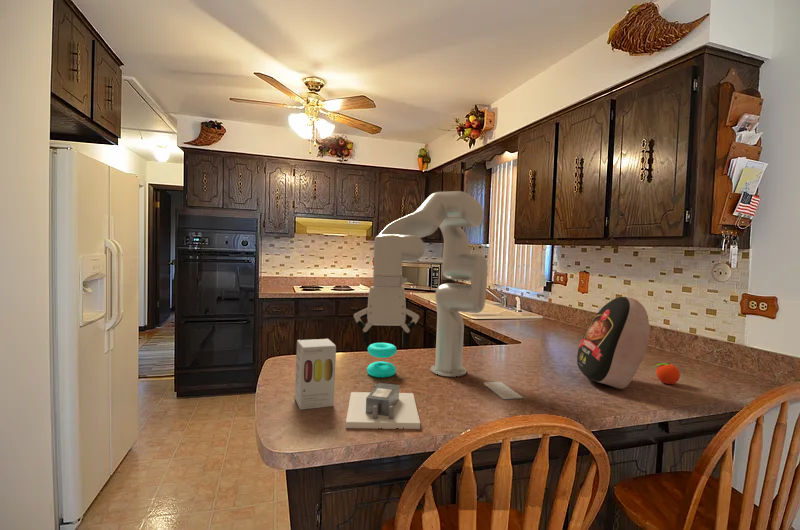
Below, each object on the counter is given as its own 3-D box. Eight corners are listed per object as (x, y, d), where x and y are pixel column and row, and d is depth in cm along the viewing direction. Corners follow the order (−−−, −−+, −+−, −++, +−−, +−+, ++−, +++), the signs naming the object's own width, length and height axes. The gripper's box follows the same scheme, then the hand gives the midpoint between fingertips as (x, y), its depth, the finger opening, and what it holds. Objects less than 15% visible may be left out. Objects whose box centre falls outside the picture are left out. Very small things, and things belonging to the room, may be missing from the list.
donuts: (371, 349, 134) (364, 342, 144) (370, 379, 135) (363, 370, 144) (400, 348, 138) (392, 341, 147) (399, 377, 138) (391, 368, 148)
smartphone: (503, 399, 121) (481, 382, 136) (503, 401, 121) (481, 383, 136) (524, 398, 123) (500, 381, 138) (524, 400, 123) (500, 383, 138)
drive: (378, 396, 116) (378, 382, 116) (398, 399, 115) (399, 384, 115) (365, 413, 104) (366, 397, 104) (388, 416, 103) (389, 400, 103)
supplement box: (299, 410, 108) (301, 347, 107) (293, 398, 117) (295, 339, 116) (335, 406, 112) (336, 345, 111) (327, 394, 120) (328, 337, 120)
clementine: (654, 384, 141) (656, 364, 141) (650, 378, 148) (651, 359, 147) (681, 388, 138) (683, 367, 138) (676, 382, 145) (677, 362, 144)
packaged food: (568, 371, 152) (573, 291, 151) (622, 374, 151) (628, 293, 150) (592, 392, 130) (598, 299, 129) (656, 396, 129) (663, 301, 128)
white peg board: (350, 397, 119) (351, 381, 119) (412, 398, 120) (413, 383, 120) (345, 428, 99) (346, 409, 99) (419, 429, 100) (420, 410, 100)
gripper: (418, 281, 112) (416, 342, 113) (355, 279, 111) (353, 342, 112) (421, 284, 104) (419, 350, 106) (353, 282, 103) (352, 349, 105)
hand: (385, 346), depth 109 cm, fingers open, 9 cm apart
